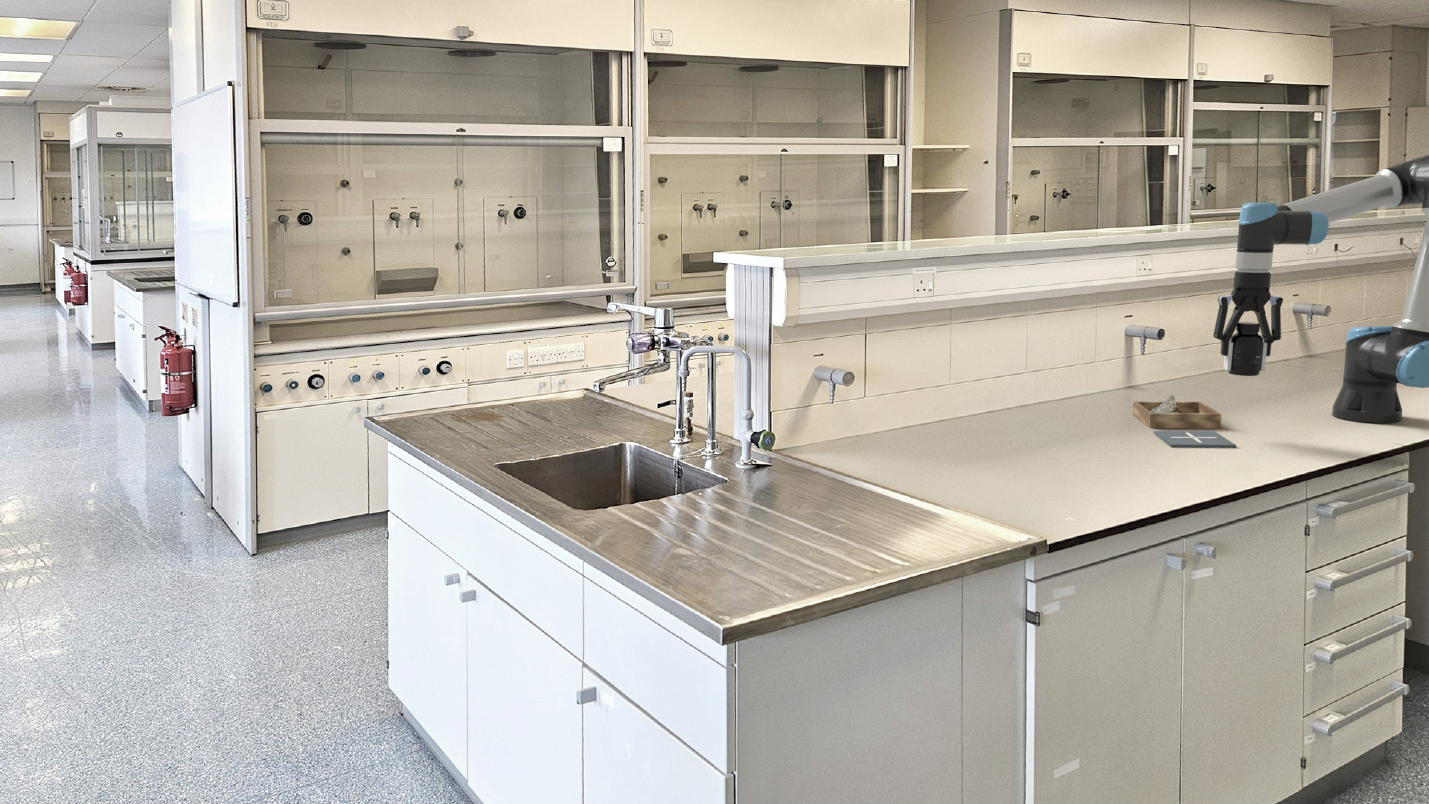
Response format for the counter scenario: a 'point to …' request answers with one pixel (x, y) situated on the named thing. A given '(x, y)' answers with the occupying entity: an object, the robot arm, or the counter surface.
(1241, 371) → the supplement bottle
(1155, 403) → the tray
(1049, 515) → the counter surface
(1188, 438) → the rest mat
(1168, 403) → the rock sample
